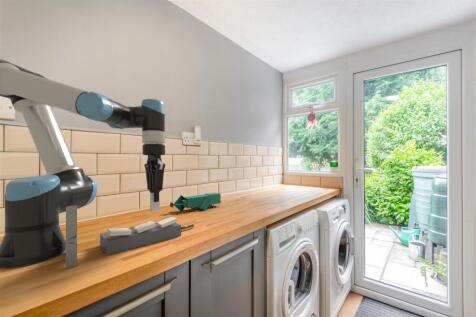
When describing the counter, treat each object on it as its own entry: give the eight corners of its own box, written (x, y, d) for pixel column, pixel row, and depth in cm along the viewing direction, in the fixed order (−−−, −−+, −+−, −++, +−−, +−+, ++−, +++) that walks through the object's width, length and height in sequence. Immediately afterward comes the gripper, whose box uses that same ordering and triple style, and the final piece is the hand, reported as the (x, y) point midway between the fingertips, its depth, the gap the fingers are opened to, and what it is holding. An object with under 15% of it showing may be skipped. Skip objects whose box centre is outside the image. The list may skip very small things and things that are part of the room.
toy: (166, 194, 118) (212, 189, 137) (166, 212, 118) (212, 204, 137) (175, 197, 109) (223, 191, 128) (175, 216, 109) (223, 207, 128)
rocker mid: (138, 233, 70) (137, 229, 70) (134, 230, 73) (133, 227, 73) (156, 226, 74) (155, 222, 74) (151, 223, 77) (151, 220, 77)
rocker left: (110, 235, 65) (111, 231, 65) (107, 232, 68) (108, 228, 68) (131, 234, 69) (132, 231, 69) (127, 231, 72) (128, 228, 72)
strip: (106, 255, 63) (106, 240, 63) (100, 245, 71) (100, 232, 71) (200, 230, 85) (200, 219, 85) (187, 225, 93) (187, 214, 93)
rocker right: (162, 228, 76) (161, 224, 75) (157, 225, 78) (157, 222, 78) (177, 221, 80) (177, 218, 79) (172, 219, 82) (172, 216, 82)
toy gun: (75, 201, 68) (77, 205, 56) (76, 253, 67) (77, 268, 55) (66, 202, 67) (65, 206, 55) (66, 255, 66) (65, 271, 54)
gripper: (172, 143, 74) (173, 211, 73) (157, 145, 83) (158, 206, 83) (150, 142, 69) (151, 215, 68) (136, 144, 78) (137, 209, 78)
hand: (155, 210), depth 76 cm, fingers closed
